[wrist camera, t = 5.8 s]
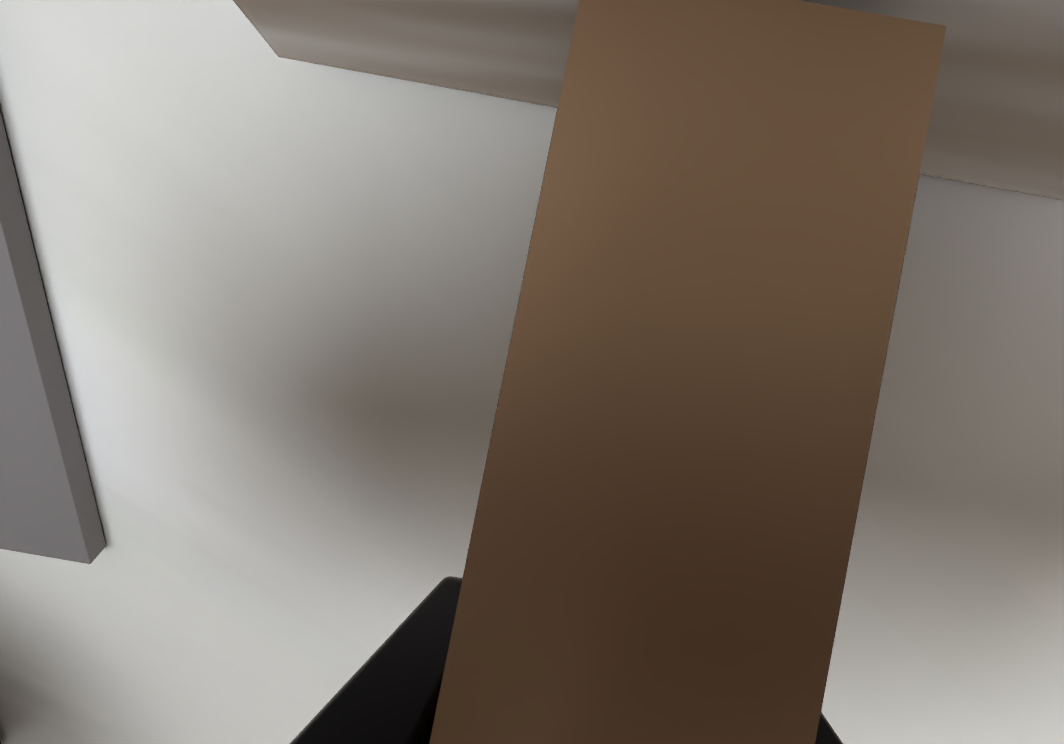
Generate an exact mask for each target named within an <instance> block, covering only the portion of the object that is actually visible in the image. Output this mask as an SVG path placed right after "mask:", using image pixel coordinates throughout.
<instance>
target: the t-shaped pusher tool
mask: <svg viewBox="0 0 1064 744" xmlns="http://www.w3.org/2000/svg"><path fill="white" fill-rule="evenodd" d="M233 1H234V2H235V3H236V5H237V6H238V7H239V8H240V10H241V11H242V12H243V13H244V15H245V16H246V17H247V18H248V20H249V21H250V22H251V23H252V24H253V26H254V27H255V28H256V29H257V31H258V32H259V33H260V34H261V36H262V37H263V38H264V39H265V41H266V42H267V43H268V44H269V46H270V47H271V48H272V49H273V50H274V52H275V53H276V54H277V55H278V57H282V58H288V59H293V60H299V61H304V62H310V63H315V64H321V65H326V66H332V67H337V68H343V69H348V70H354V71H359V72H365V73H370V74H376V75H381V76H386V77H392V78H397V79H403V80H408V81H414V82H419V83H425V84H430V85H436V86H441V87H447V88H452V89H458V90H463V91H469V92H474V93H480V94H485V95H491V96H496V97H502V98H507V99H513V100H518V101H524V102H529V103H535V104H540V105H545V106H551V107H556V108H557V113H556V118H555V123H554V128H553V133H552V138H551V143H550V148H549V153H548V158H547V163H546V168H545V173H544V178H543V182H542V187H541V192H540V197H539V202H538V207H537V212H536V217H535V222H534V227H533V232H532V237H531V242H530V247H529V252H528V257H527V262H526V267H525V272H524V277H523V282H522V287H521V292H520V297H519V301H518V306H517V311H516V316H515V321H514V326H513V331H512V336H511V341H510V346H509V351H508V356H507V361H506V366H505V371H504V376H503V381H502V386H501V391H500V396H499V401H498V406H497V411H496V416H495V420H494V425H493V430H492V435H491V440H490V445H489V450H488V455H487V460H486V465H485V470H484V475H483V480H482V485H481V490H480V495H479V500H478V505H477V510H476V515H475V520H474V525H473V530H472V535H471V539H470V544H469V549H468V554H467V559H466V564H465V569H464V574H463V579H462V584H461V589H460V594H459V599H458V604H457V609H456V614H455V619H454V624H453V629H452V634H451V639H450V644H449V649H448V654H447V658H446V663H445V668H444V673H443V678H442V683H441V688H440V693H439V698H438V703H437V708H436V713H435V718H434V723H433V728H432V733H431V738H430V743H429V744H815V741H816V735H817V730H818V724H819V719H820V714H821V708H822V703H823V697H824V692H825V686H826V681H827V675H828V670H829V664H830V659H831V654H832V648H833V643H834V637H835V632H836V626H837V621H838V615H839V610H840V604H841V599H842V594H843V588H844V583H845V577H846V572H847V566H848V561H849V555H850V550H851V544H852V539H853V534H854V528H855V523H856V517H857V512H858V506H859V501H860V495H861V490H862V484H863V479H864V473H865V468H866V463H867V457H868V452H869V446H870V441H871V435H872V430H873V424H874V419H875V413H876V408H877V403H878V397H879V392H880V386H881V381H882V375H883V370H884V364H885V359H886V353H887V348H888V343H889V337H890V332H891V326H892V321H893V315H894V310H895V304H896V299H897V293H898V288H899V283H900V277H901V272H902V266H903V261H904V255H905V250H906V244H907V239H908V233H909V228H910V223H911V217H912V212H913V206H914V201H915V195H916V190H917V184H918V179H919V174H924V175H929V176H935V177H940V178H946V179H951V180H957V181H962V182H968V183H973V184H979V185H984V186H990V187H995V188H1001V189H1006V190H1012V191H1017V192H1022V193H1028V194H1033V195H1039V196H1044V197H1050V198H1055V199H1061V200H1064V0H233Z"/></svg>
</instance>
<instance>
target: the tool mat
mask: <svg viewBox="0 0 1064 744" xmlns="http://www.w3.org/2000/svg"><path fill="white" fill-rule="evenodd" d="M105 547H106V544H105V540H104V535H103V531H102V527H101V523H100V519H99V515H98V511H97V507H96V503H95V498H94V494H93V490H92V486H91V482H90V478H89V474H88V470H87V466H86V461H85V457H84V453H83V449H82V445H81V441H80V437H79V433H78V429H77V424H76V420H75V416H74V412H73V408H72V404H71V400H70V396H69V391H68V387H67V383H66V379H65V375H64V371H63V367H62V363H61V359H60V354H59V350H58V346H57V342H56V338H55V334H54V330H53V326H52V322H51V317H50V313H49V309H48V305H47V301H46V297H45V293H44V289H43V285H42V280H41V276H40V272H39V268H38V264H37V260H36V256H35V252H34V248H33V243H32V239H31V235H30V231H29V227H28V223H27V219H26V215H25V211H24V206H23V202H22V198H21V194H20V190H19V186H18V182H17V178H16V174H15V169H14V165H13V161H12V157H11V153H10V149H9V145H8V141H7V137H6V132H5V128H4V124H3V120H2V116H1V112H0V549H6V550H12V551H17V552H23V553H29V554H35V555H41V556H46V557H52V558H58V559H64V560H70V561H75V562H81V563H87V564H91V563H92V561H93V560H94V559H95V558H96V557H97V556H98V555H99V553H100V552H101V551H102V550H103V549H104V548H105Z"/></svg>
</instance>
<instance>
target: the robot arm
mask: <svg viewBox="0 0 1064 744" xmlns="http://www.w3.org/2000/svg"><path fill="white" fill-rule="evenodd" d="M462 579H463V578H457V577H451V576H449V577H446V578H444V579H443V580H442V581H441V582H440V583H439V584H438V585H437V586H436V587H435V588H434V589H433V591H432V592H431V593H430V594H429V595H428V596H427V597H426V598H425V599H424V600H423V601H422V602H421V603H420V605H419V606H418V607H417V608H416V609H415V610H414V611H413V612H412V613H411V614H410V615H409V616H408V617H407V618H406V620H405V621H404V622H403V623H402V624H401V625H400V626H399V627H398V628H397V629H396V630H395V631H394V632H393V634H392V635H391V636H390V637H389V638H388V639H387V640H386V641H385V642H384V643H383V644H382V645H381V646H380V647H379V649H378V650H377V651H376V652H375V653H374V654H373V655H372V656H371V657H370V658H369V659H368V660H367V661H366V662H365V664H364V665H363V666H362V667H361V668H360V669H359V670H358V671H357V672H356V673H355V674H354V675H353V676H352V678H351V679H350V680H349V681H348V682H347V683H346V684H345V685H344V686H343V687H342V688H341V689H340V690H339V691H338V693H337V694H336V695H335V696H334V697H333V698H332V699H331V700H330V701H329V702H328V703H327V704H326V705H325V706H324V708H323V709H322V710H321V711H320V712H319V713H318V714H317V715H316V716H315V717H314V718H313V719H312V720H311V722H310V723H309V724H308V725H307V726H306V727H305V728H304V729H303V730H302V731H301V732H300V733H299V734H298V735H297V737H296V738H295V739H294V740H293V741H292V742H291V743H290V744H429V743H430V738H431V733H432V728H433V723H434V718H435V713H436V708H437V703H438V698H439V693H440V688H441V683H442V678H443V673H444V668H445V663H446V658H447V654H448V649H449V644H450V639H451V634H452V629H453V624H454V619H455V614H456V609H457V604H458V599H459V594H460V589H461V584H462ZM0 744H1V742H0ZM815 744H843V743H842V742H841V740H840V739H839V737H838V736H837V734H836V733H835V731H834V730H833V729H832V727H831V726H830V724H829V723H828V721H827V720H826V718H825V717H824V715H823V714H822V712H821V714H820V719H819V724H818V730H817V735H816V741H815Z"/></svg>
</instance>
